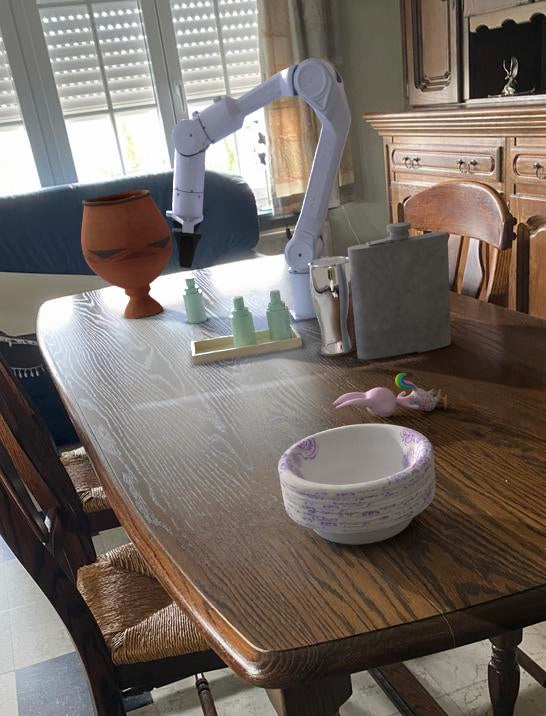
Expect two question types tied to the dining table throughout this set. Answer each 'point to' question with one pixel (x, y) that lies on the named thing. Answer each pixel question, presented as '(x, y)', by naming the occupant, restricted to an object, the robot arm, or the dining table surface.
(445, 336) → the hip flask
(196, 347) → the tray
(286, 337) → the bottle
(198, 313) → the loose bottle
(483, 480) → the dining table surface
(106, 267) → the goblet
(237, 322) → the bottle
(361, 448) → the paper bowls
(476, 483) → the dining table surface
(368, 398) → the rabbit figure
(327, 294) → the beer glass
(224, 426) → the dining table surface
